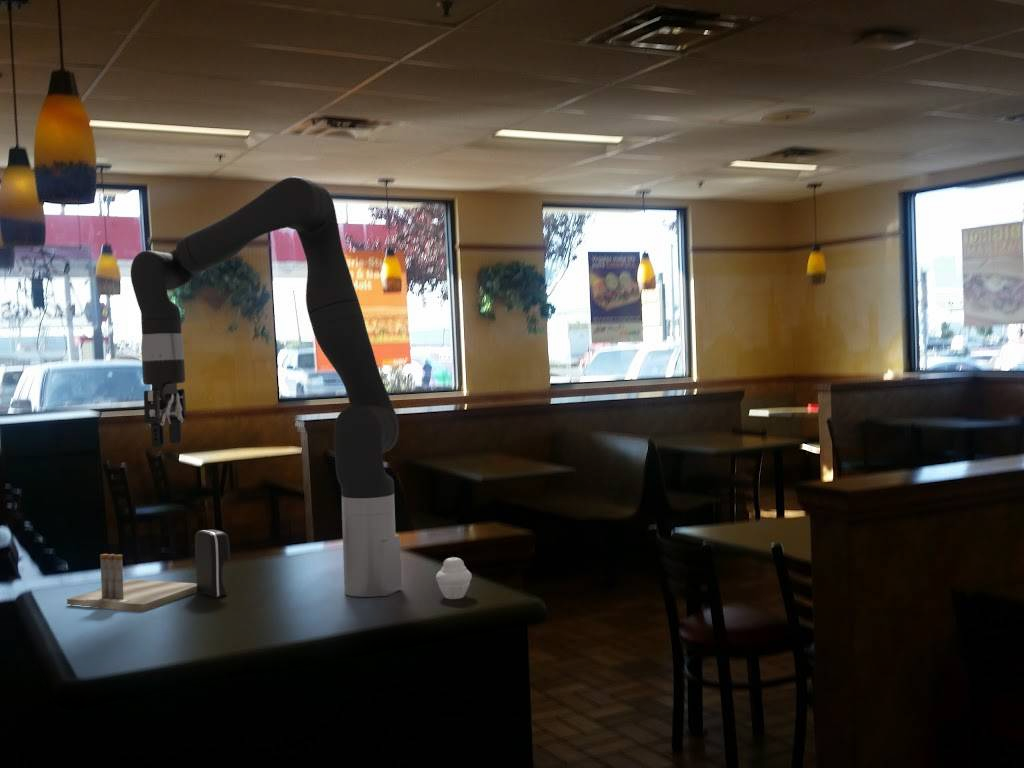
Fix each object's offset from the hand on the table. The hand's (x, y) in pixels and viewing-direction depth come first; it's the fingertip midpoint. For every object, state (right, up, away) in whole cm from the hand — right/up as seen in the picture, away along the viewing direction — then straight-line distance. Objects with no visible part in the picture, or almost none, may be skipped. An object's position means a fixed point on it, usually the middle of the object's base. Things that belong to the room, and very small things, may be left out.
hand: (167, 444), depth 195 cm
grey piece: (+55, -25, -17) cm, 63 cm away
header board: (-2, -26, -11) cm, 29 cm away
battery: (+12, -26, -10) cm, 30 cm away
